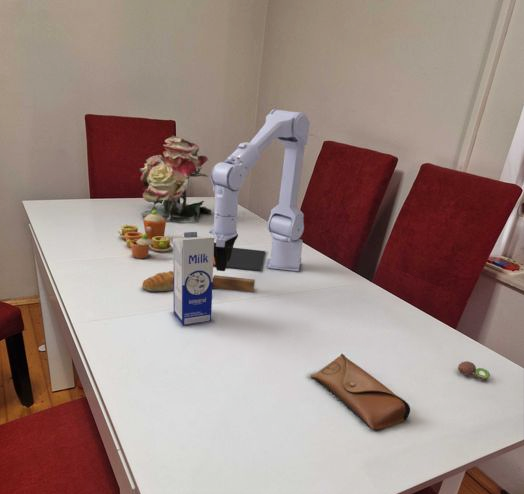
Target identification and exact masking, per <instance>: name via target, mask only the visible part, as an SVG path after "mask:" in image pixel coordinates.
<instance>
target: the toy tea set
mask: <svg viewBox="0 0 524 494" xmlns="http://www.w3.org/2000/svg"><path fill="white" fill-rule="evenodd" d="M151 211H152V214H149V215H147V216H146V217H145V218H143V219H142V222H143V227H144V233H142V232H140V231H138V230H139V227H138V226H136V225H129V224H125V225H122V226H121V227H120V229H121V231H120V230H117V232H118V233H119V238H120V239H122V240H125V242H126V246H127V248H130V251H131V255H132V257H133V258H135V259H146V258H148V256H149V252H150V249H151V250H152V251H155V252H161V253H162V252H168V251H171V250H172V249H173V245H171V239H170V237H169V236H165V233H166V225H167V221H166V219H165V218H163V217H162V216H161V215H159V214H156V213H157V212H156V211H155V210H151Z"/></svg>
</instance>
